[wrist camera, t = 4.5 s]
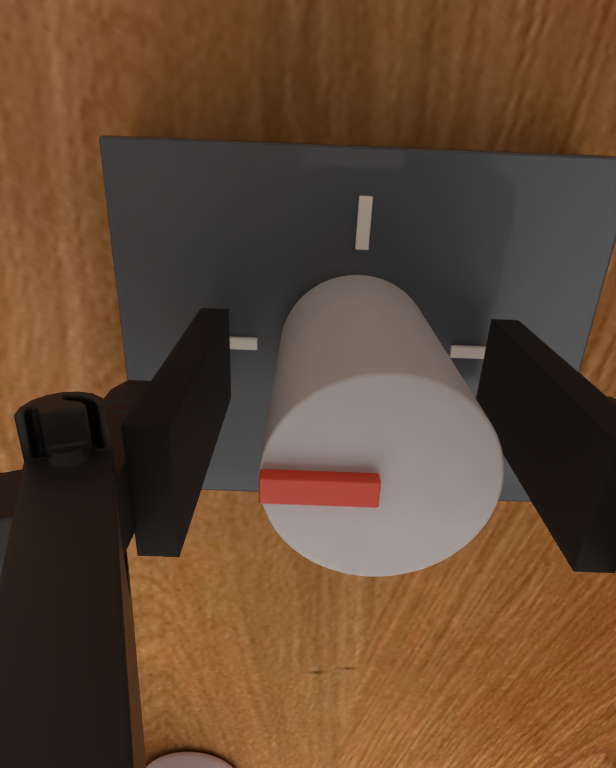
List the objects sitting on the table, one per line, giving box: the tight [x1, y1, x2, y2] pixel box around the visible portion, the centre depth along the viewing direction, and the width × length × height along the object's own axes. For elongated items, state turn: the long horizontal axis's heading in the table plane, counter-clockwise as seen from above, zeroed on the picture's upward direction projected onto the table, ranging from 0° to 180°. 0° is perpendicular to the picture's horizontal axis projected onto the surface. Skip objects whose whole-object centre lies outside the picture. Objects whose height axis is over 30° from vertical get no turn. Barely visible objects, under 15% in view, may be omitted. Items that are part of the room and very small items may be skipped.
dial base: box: [99, 136, 616, 502], centre depth 17 cm, size 14×11×3 cm
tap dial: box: [258, 275, 504, 577], centre depth 12 cm, size 4×4×7 cm
